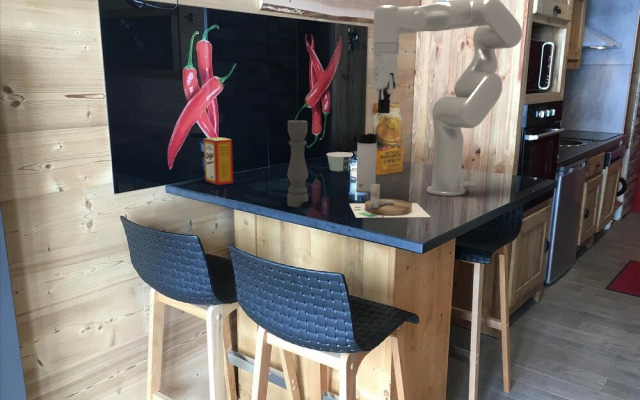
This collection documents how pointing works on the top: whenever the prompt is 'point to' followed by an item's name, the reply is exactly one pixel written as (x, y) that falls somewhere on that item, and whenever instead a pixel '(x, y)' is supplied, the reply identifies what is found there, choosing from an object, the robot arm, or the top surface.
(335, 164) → the food container
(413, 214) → the dial plate
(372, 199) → the dial
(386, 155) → the pancake mix bag
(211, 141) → the baking soda box
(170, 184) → the top surface
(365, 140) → the travel mug
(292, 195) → the candle holder
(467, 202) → the top surface
